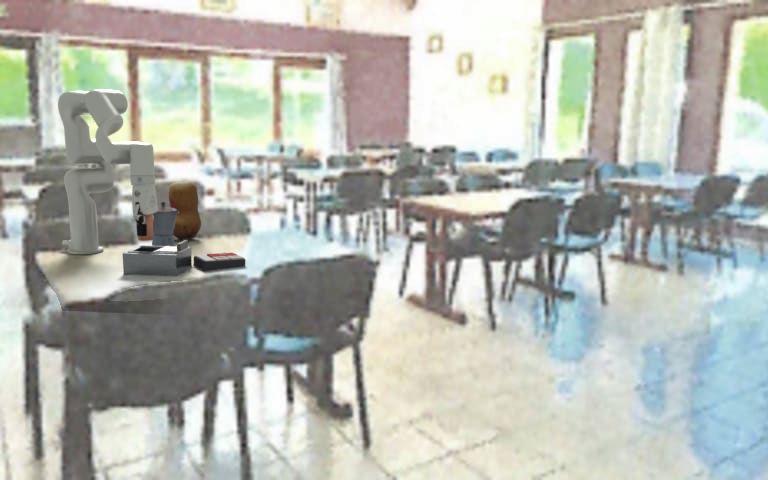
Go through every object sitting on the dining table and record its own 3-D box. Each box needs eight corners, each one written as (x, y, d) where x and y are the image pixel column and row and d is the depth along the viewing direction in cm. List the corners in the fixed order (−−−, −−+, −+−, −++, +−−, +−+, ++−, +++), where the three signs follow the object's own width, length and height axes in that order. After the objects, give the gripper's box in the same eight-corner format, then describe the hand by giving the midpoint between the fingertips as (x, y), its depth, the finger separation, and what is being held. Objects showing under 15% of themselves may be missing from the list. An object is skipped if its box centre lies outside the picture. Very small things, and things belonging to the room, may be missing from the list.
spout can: (150, 240, 224) (148, 211, 222) (133, 240, 224) (131, 211, 222) (156, 238, 229) (154, 209, 227) (139, 237, 229) (138, 209, 227)
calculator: (246, 257, 236) (204, 259, 227) (245, 269, 237) (204, 272, 228) (233, 251, 245) (193, 253, 236) (233, 263, 246) (193, 265, 237)
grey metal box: (123, 274, 222) (122, 252, 221) (141, 264, 236) (140, 244, 234) (176, 276, 221) (175, 254, 219) (191, 266, 234) (191, 246, 233)
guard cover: (156, 252, 223) (155, 243, 222) (166, 247, 231) (165, 239, 230) (179, 253, 222) (179, 244, 222) (188, 248, 230) (188, 239, 230)
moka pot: (174, 258, 247) (172, 204, 244) (136, 255, 250) (133, 202, 247) (187, 253, 256) (185, 201, 253) (150, 250, 259) (147, 199, 256)
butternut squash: (163, 239, 283) (160, 180, 279) (192, 235, 292) (190, 178, 288) (178, 244, 273) (176, 182, 269) (208, 240, 282) (206, 181, 278)
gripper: (143, 183, 214) (145, 239, 218) (164, 178, 231) (166, 230, 234) (120, 182, 215) (123, 238, 218) (142, 178, 232) (145, 230, 235)
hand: (145, 233), depth 226 cm, fingers closed on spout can, 5 cm apart
